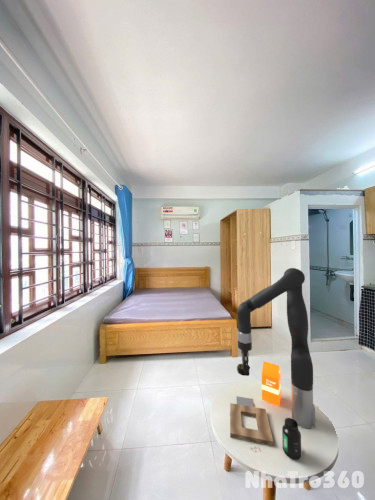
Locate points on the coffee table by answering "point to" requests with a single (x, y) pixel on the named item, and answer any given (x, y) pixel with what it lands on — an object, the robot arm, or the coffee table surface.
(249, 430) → the board
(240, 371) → the tape measure
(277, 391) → the orange juice
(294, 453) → the supplement bottle
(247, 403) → the mat
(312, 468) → the coffee table surface
